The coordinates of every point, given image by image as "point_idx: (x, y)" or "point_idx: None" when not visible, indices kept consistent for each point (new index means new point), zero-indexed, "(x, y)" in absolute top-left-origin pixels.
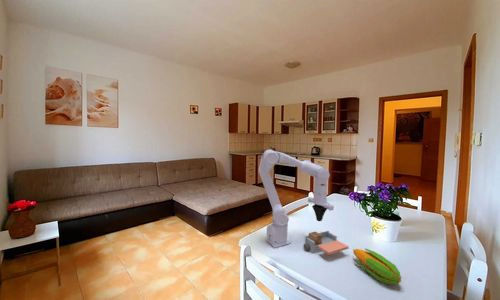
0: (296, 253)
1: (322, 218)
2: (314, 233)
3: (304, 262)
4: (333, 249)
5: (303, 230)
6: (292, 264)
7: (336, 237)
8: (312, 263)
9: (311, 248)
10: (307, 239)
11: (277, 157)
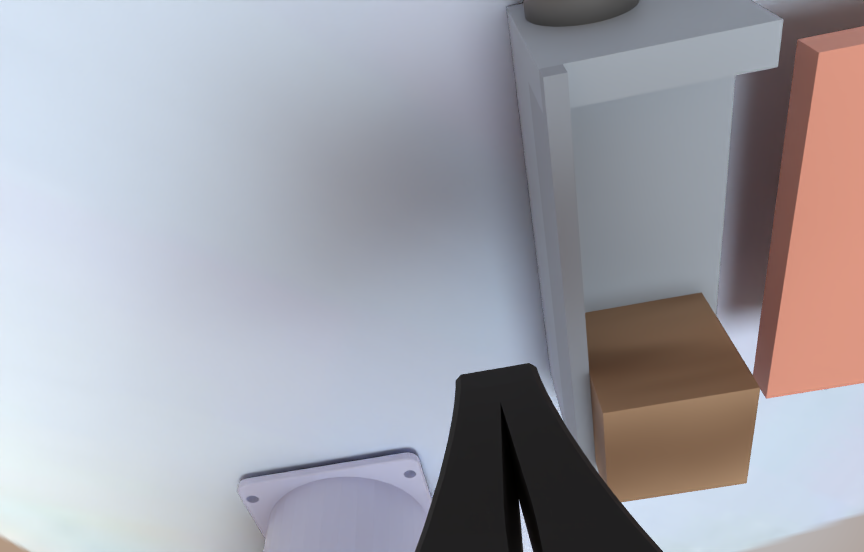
0: None
1: (551, 401)
2: (657, 453)
3: (750, 460)
4: None
5: (31, 179)
6: (720, 529)
7: (768, 13)
8: (800, 417)
9: None
10: None
11: None
